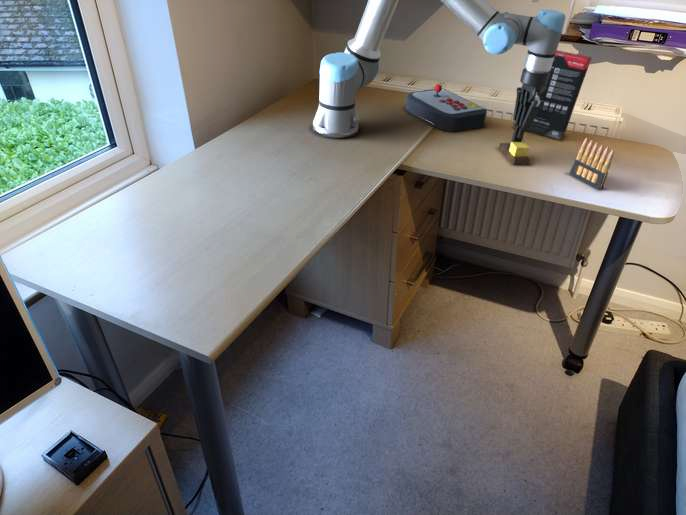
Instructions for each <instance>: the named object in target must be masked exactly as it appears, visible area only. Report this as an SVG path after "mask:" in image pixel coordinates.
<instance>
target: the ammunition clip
mask: <svg viewBox="0 0 686 515" xmlns="http://www.w3.org/2000/svg"><path fill="white" fill-rule="evenodd" d="M588 141H589V137H586V138H585V139H584V141H582V144H581V146H580V148H579V150H578V153H577V156H576V158H575V159H574V161H573V163H572V166H571V168H570V171H569V173H568V175H569V176H571V177H573V178H575V179H577V180H579V181H581V182H583V183H585V184H587V185H588V186H590V187H591V188H594V189H596V190H602V189H603V188H604V186H605V183H606V181H607V178H608V175H609V170H610V167H611V165H612V161H613V157H614V154H615V150H614V149H611V151H610V153H609V150H610V148H609V146H607V147H606V148H605V149H604V144H601V145H600V147H599V142H596V143H595V144H594V141H593V139H591V140H590V142H589V143H588ZM593 145H594V146H593ZM603 150H604V151H603Z"/></svg>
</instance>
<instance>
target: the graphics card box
mask: <svg viewBox="0 0 686 515" xmlns="http://www.w3.org/2000/svg"><path fill="white" fill-rule="evenodd" d="M591 60H592V57H591V56H586V55H582V54H577V53H573V52H568V51H564V50H558V49H557V51H556V54H555V57H554V61H553V63H552V67H551V70H550V71H549V78H548V81H547V84H546V85H545V86H543V87H542V88H541V92H540V96H539V99H540V100H542V101H543V104H542V105H541V107H540V108H539V110H538V112H537V115H536V117H535V119H534V121H533V123H532V126H531V128H526V129H525V131H527V132H530V133H535V134H537V135H541V136H543V137H544V136H545V137H548V138H552V139H555V140H559V141H560V140H562V138H563V137H564V136H565V135H566V132H567V129H568V127H569V123H570V121H571V117H572V115H573V113H574V110H575V106H576V104H577V101H578V98H579V95H580V92H581V89H582V87H583V83H584V80H585V78H586V75H587V72H588V69H589V67H590V64H591ZM515 126H516V125H515V124H514V125H513V127H514V128H515Z"/></svg>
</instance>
